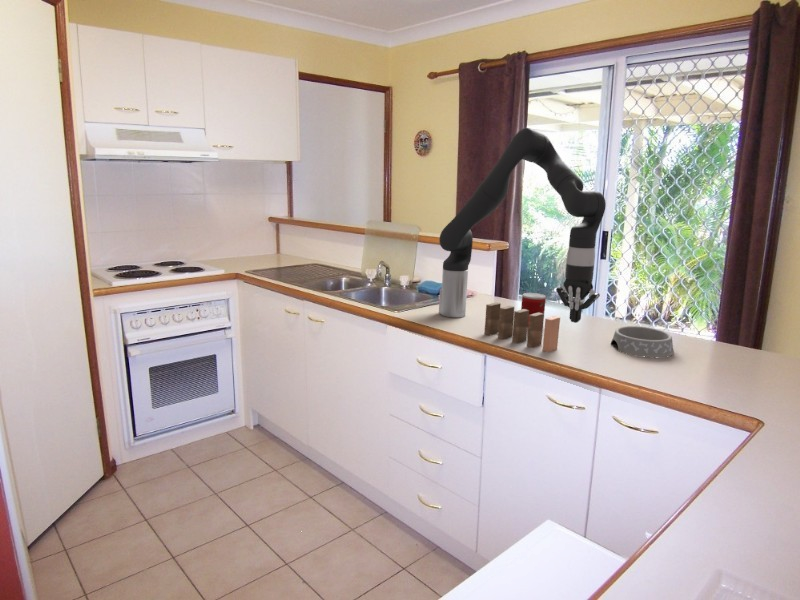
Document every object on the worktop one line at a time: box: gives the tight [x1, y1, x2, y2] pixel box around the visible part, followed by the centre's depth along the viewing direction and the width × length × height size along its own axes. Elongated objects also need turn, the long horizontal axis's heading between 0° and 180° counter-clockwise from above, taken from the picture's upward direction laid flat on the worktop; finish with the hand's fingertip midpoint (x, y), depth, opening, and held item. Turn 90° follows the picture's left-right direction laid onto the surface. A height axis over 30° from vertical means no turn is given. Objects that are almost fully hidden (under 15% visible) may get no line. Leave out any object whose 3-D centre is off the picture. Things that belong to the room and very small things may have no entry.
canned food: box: [520, 292, 547, 326], centre depth 190 cm, size 8×8×11 cm
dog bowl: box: [610, 325, 675, 358], centre depth 169 cm, size 17×18×5 cm
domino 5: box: [542, 315, 561, 353], centre depth 164 cm, size 2×5×10 cm, turn 134°
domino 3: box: [511, 308, 529, 344], centre depth 172 cm, size 2×5×10 cm, turn 133°
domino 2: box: [497, 305, 515, 340], centre depth 176 cm, size 2×5×10 cm, turn 134°
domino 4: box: [526, 312, 545, 349], centre depth 168 cm, size 2×5×10 cm, turn 134°
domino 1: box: [484, 302, 502, 336], centre depth 180 cm, size 2×5×10 cm, turn 133°
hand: (574, 321), depth 158 cm, fingers closed
